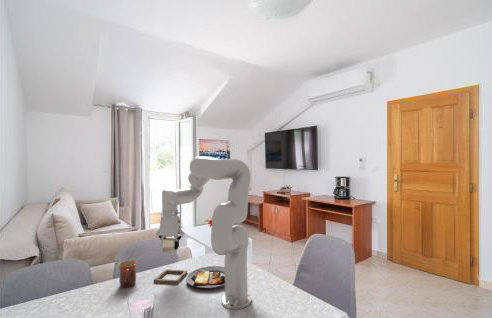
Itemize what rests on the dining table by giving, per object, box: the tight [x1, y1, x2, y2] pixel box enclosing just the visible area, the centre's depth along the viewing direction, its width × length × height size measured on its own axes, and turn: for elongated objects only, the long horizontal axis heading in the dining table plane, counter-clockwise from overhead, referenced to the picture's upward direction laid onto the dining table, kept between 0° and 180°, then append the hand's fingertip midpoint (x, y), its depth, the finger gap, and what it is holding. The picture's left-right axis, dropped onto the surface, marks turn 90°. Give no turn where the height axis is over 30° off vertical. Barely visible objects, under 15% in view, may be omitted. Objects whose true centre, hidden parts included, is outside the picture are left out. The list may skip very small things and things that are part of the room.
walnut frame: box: [153, 268, 188, 285], centre depth 132 cm, size 12×12×2 cm
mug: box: [117, 259, 138, 288], centre depth 124 cm, size 12×9×10 cm
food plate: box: [185, 265, 225, 289], centre depth 129 cm, size 25×23×4 cm
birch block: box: [161, 236, 179, 254], centre depth 132 cm, size 6×6×6 cm
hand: (170, 248), depth 132 cm, fingers closed on birch block, 6 cm apart
